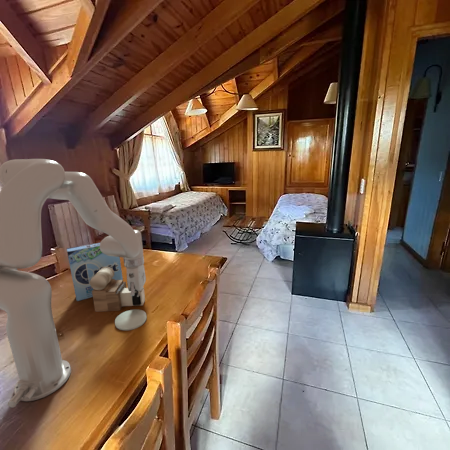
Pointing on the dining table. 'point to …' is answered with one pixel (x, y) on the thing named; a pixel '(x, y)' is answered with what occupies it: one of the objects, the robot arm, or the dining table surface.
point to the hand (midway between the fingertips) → (138, 301)
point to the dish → (130, 319)
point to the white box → (130, 297)
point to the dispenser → (106, 290)
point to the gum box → (89, 267)
